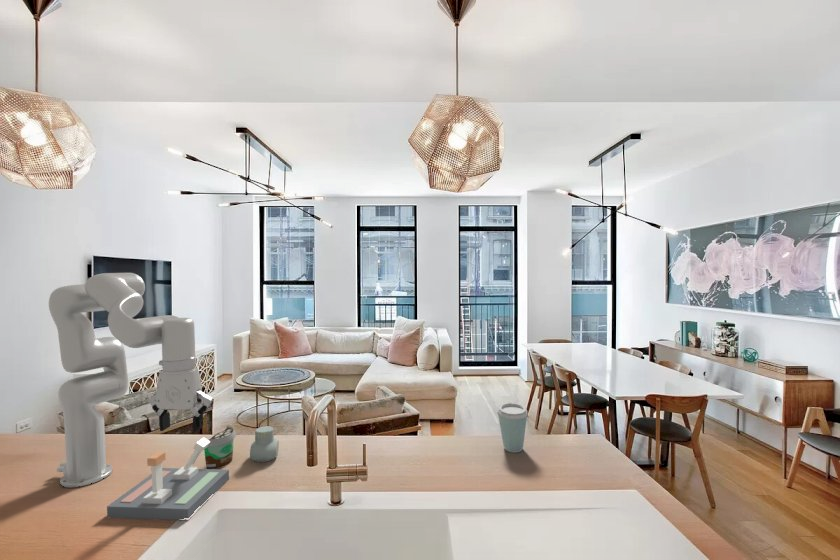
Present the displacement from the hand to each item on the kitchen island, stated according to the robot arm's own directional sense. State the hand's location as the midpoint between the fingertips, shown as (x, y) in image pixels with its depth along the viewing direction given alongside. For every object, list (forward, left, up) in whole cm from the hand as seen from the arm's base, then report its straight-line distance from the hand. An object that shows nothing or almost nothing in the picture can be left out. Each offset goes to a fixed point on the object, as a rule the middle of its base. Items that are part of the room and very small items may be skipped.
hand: (181, 429), depth 109 cm
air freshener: (+9, +30, -23) cm, 38 cm away
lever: (-7, +12, -18) cm, 22 cm away
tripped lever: (-7, 0, -18) cm, 19 cm away
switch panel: (-7, +6, -22) cm, 24 cm away
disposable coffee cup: (+94, +41, -22) cm, 105 cm away
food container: (-3, +26, -22) cm, 34 cm away
